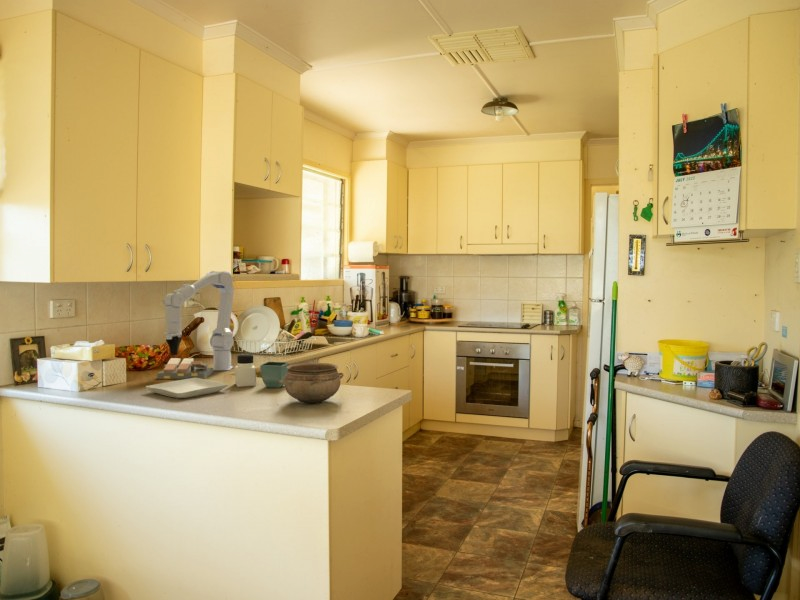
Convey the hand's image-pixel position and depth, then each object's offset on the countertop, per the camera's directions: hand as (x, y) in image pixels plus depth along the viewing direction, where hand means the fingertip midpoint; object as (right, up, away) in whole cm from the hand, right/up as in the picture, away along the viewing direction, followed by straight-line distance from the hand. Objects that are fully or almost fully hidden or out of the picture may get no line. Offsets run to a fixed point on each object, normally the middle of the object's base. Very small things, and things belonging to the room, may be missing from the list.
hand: (174, 354), depth 261 cm
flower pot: (+46, -11, -20) cm, 52 cm away
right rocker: (+10, -5, +3) cm, 11 cm away
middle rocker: (+4, -5, +2) cm, 7 cm away
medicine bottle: (+34, -11, -17) cm, 39 cm away
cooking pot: (+64, -12, -49) cm, 82 cm away
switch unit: (+4, -9, +3) cm, 10 cm away
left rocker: (-1, -5, +2) cm, 6 cm away
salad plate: (+17, -12, -33) cm, 39 cm away
